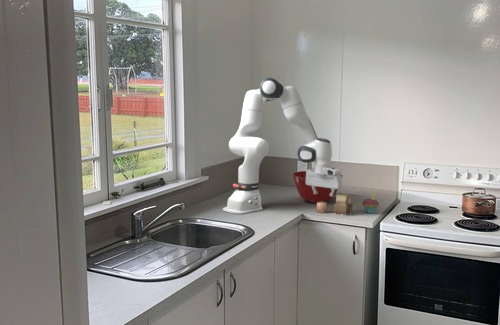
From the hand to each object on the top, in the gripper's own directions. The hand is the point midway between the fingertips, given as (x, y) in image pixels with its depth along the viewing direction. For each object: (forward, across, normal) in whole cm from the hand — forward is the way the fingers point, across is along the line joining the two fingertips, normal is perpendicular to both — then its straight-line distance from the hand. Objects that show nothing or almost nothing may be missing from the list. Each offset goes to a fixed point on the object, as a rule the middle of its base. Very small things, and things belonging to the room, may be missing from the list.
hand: (323, 195), depth 272 cm
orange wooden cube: (+9, 0, -2) cm, 9 cm away
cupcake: (+10, +20, +13) cm, 26 cm away
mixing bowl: (+10, -15, +20) cm, 27 cm away
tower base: (+9, +10, +3) cm, 14 cm away
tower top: (+4, +10, +3) cm, 11 cm away
